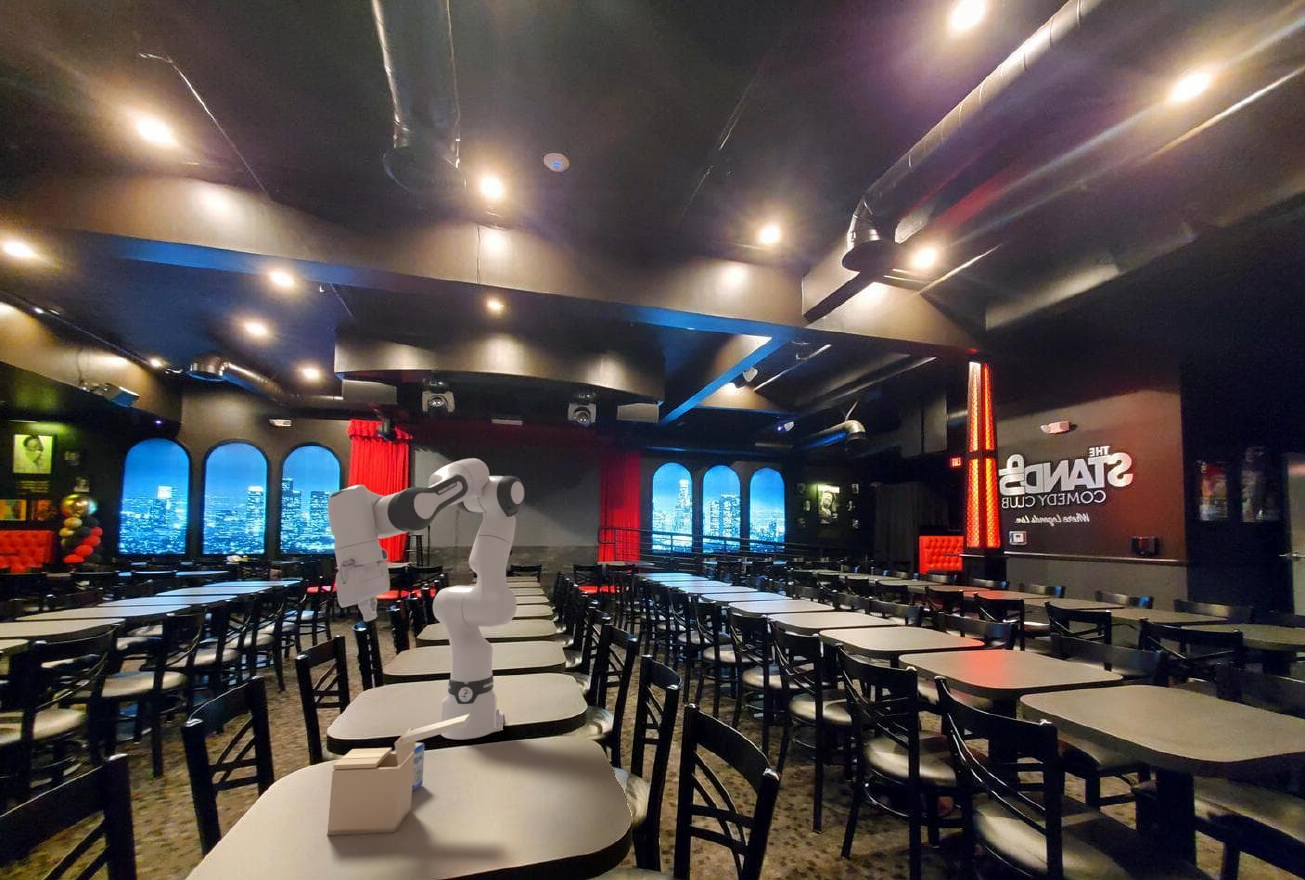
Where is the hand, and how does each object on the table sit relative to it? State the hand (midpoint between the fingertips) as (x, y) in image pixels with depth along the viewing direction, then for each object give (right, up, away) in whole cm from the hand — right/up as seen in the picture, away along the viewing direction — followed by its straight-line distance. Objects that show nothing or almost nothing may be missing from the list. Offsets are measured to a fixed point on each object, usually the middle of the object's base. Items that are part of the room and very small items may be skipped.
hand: (370, 619), depth 121 cm
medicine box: (+9, -35, -5) cm, 37 cm away
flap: (+13, -20, -14) cm, 28 cm away
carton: (+8, -33, -16) cm, 38 cm away
